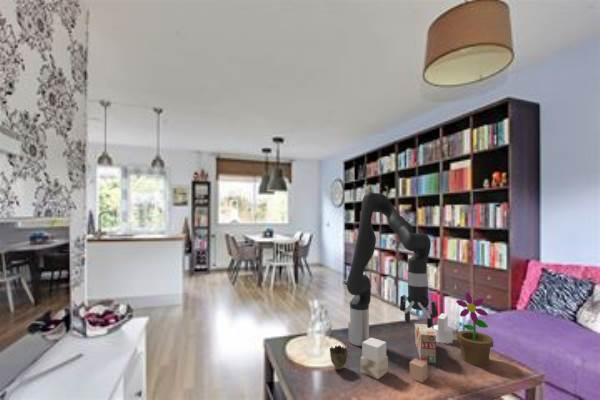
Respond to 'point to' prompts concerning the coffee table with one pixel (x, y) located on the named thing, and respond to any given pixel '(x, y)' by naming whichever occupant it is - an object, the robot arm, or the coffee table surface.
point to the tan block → (418, 370)
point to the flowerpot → (474, 335)
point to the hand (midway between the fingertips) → (418, 324)
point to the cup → (338, 356)
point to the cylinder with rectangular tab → (443, 330)
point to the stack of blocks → (425, 343)
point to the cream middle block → (374, 350)
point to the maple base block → (374, 367)
